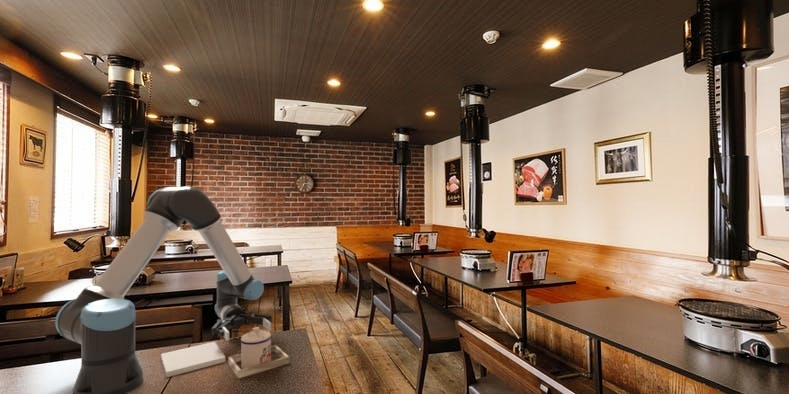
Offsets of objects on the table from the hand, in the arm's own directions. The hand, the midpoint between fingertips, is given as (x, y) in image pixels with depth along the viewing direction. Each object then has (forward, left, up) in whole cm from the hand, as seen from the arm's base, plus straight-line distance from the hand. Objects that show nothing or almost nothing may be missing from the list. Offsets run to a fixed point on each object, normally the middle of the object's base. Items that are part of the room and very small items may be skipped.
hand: (249, 331), depth 120 cm
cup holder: (+10, 0, -7) cm, 12 cm away
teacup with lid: (+9, 0, -7) cm, 12 cm away
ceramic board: (-6, -16, -7) cm, 19 cm away
